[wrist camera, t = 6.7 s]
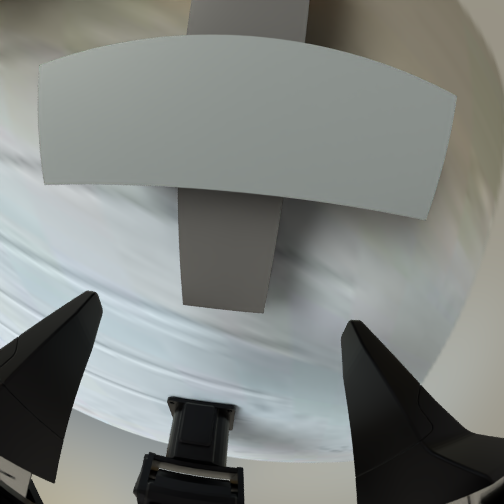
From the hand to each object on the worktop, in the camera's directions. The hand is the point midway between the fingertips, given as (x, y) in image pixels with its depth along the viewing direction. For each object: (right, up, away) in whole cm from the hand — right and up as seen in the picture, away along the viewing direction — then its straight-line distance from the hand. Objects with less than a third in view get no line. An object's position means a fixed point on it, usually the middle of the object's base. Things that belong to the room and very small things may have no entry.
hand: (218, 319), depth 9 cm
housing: (+1, +8, +1) cm, 8 cm away
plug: (+1, +8, +1) cm, 8 cm away
